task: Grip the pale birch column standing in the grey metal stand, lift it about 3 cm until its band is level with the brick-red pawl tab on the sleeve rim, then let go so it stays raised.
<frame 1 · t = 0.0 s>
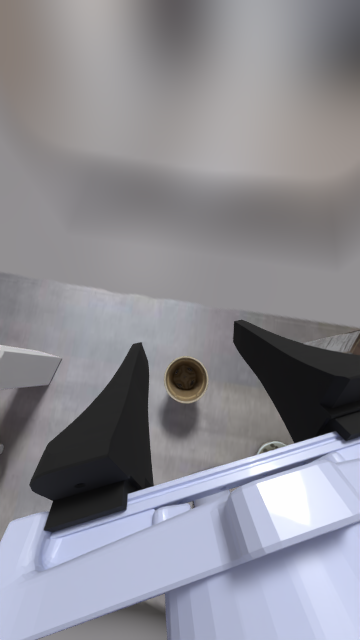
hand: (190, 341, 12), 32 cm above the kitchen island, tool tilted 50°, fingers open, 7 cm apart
coffee box: (310, 361, 43), on the kitchen island
flower pot: (184, 377, 42), on the kitchen island
milk carton: (44, 367, 42), on the kitchen island
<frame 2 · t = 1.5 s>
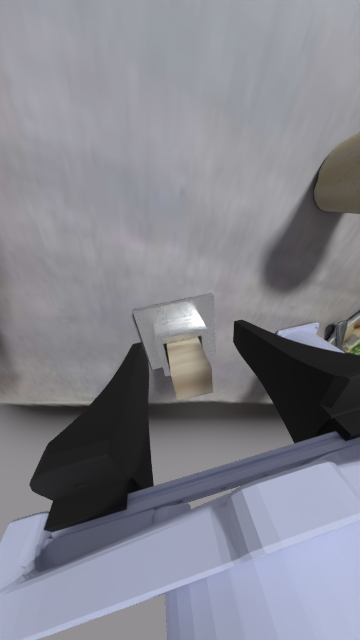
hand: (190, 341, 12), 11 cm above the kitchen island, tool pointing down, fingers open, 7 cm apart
salad plate: (354, 339, 34), on the kitchen island
flower pot: (336, 180, 18), on the kitchen island
stand: (178, 332, 25), on the kitchen island
column: (185, 356, 20), point 5 cm above the kitchen island, slide at 0.0 cm
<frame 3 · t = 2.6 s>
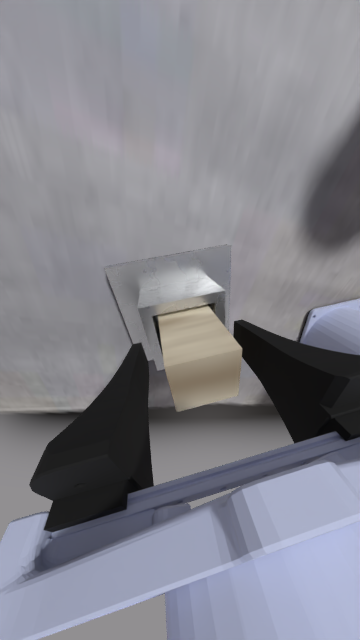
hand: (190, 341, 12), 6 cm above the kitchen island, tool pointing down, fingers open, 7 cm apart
stand: (177, 308, 17), on the kitchen island
column: (188, 337, 12), point 5 cm above the kitchen island, slide at 0.0 cm
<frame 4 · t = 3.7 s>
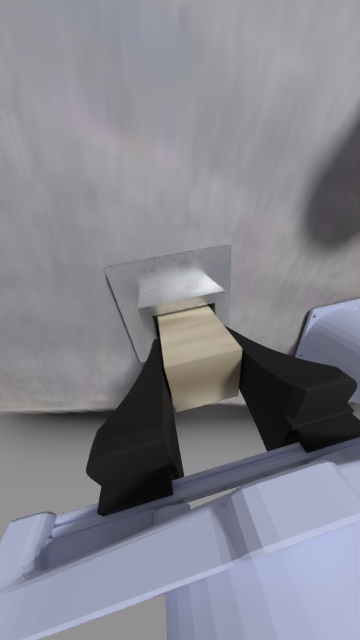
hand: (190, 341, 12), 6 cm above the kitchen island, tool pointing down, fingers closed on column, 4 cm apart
stand: (177, 308, 17), on the kitchen island
column: (188, 338, 12), point 5 cm above the kitchen island, slide at 0.0 cm, touching gripper
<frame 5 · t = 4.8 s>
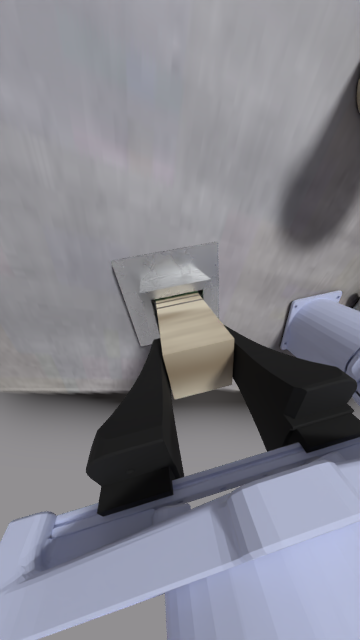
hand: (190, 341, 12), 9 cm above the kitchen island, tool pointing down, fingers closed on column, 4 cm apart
stand: (173, 298, 20), on the kitchen island
column: (186, 332, 13), point 8 cm above the kitchen island, slide at 2.1 cm, touching gripper
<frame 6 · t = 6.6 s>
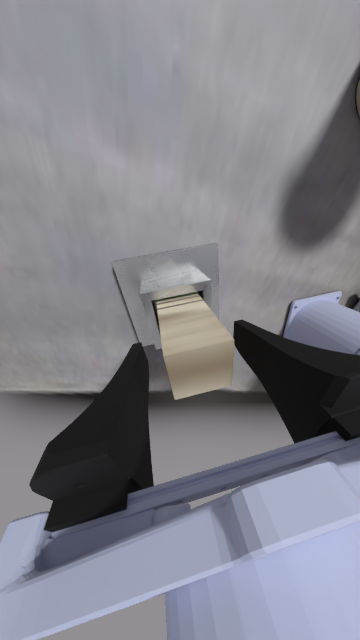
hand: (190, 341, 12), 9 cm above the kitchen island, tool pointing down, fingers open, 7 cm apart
stand: (173, 298, 20), on the kitchen island
column: (186, 332, 13), point 8 cm above the kitchen island, slide at 2.1 cm
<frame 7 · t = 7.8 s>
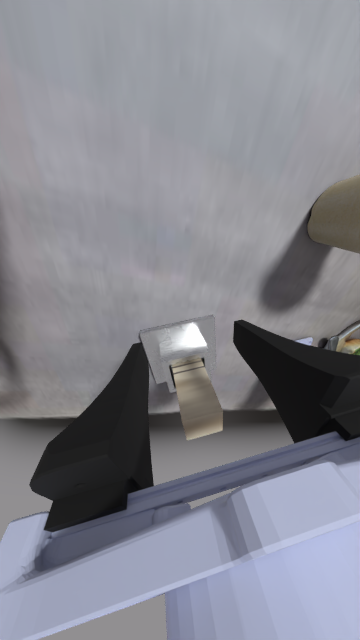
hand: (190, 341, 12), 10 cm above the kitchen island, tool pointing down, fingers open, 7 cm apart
salad plate: (345, 350, 36), on the kitchen island
flower pot: (327, 215, 20), on the kitchen island
stand: (181, 349, 26), on the kitchen island
column: (193, 389, 20), point 8 cm above the kitchen island, slide at 2.1 cm
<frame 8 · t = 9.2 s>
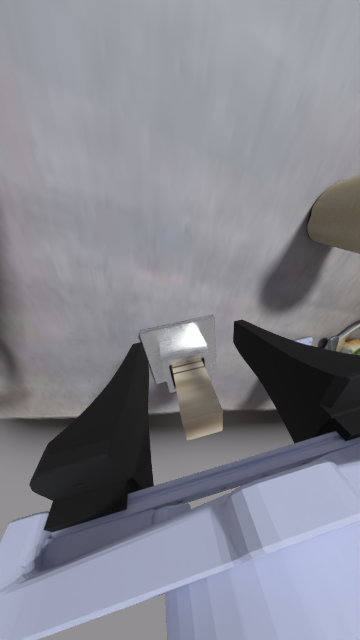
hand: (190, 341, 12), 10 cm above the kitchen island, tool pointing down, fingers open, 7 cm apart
salad plate: (345, 350, 36), on the kitchen island
flower pot: (327, 215, 20), on the kitchen island
stand: (181, 349, 26), on the kitchen island
column: (193, 389, 20), point 8 cm above the kitchen island, slide at 2.1 cm
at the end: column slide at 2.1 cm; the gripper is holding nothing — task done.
